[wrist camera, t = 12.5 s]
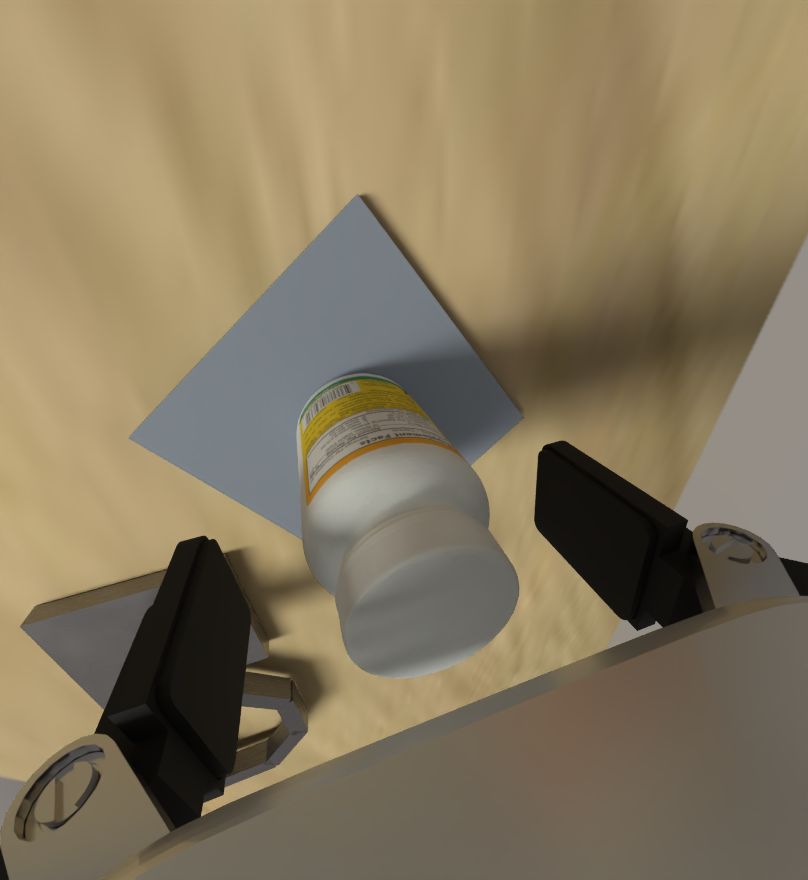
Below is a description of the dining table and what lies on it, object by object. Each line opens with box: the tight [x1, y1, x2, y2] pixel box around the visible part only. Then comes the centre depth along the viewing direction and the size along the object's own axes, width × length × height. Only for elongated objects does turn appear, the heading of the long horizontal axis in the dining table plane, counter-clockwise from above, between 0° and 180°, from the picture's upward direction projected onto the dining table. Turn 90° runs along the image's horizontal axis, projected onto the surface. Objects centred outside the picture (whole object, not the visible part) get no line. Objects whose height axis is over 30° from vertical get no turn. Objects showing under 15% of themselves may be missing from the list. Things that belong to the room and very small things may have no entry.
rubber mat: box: [129, 194, 524, 539], centre depth 16 cm, size 12×12×1 cm
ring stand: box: [20, 553, 308, 787], centre depth 14 cm, size 16×9×15 cm, turn 7°
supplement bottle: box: [297, 373, 519, 678], centre depth 12 cm, size 5×5×10 cm
